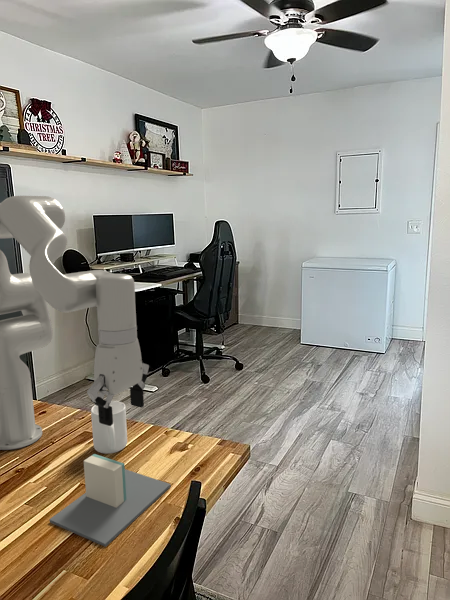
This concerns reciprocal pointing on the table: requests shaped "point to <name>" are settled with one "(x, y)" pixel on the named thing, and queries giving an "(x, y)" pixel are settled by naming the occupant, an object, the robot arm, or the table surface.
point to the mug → (110, 429)
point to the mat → (110, 510)
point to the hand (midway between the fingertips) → (122, 414)
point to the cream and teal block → (105, 480)
